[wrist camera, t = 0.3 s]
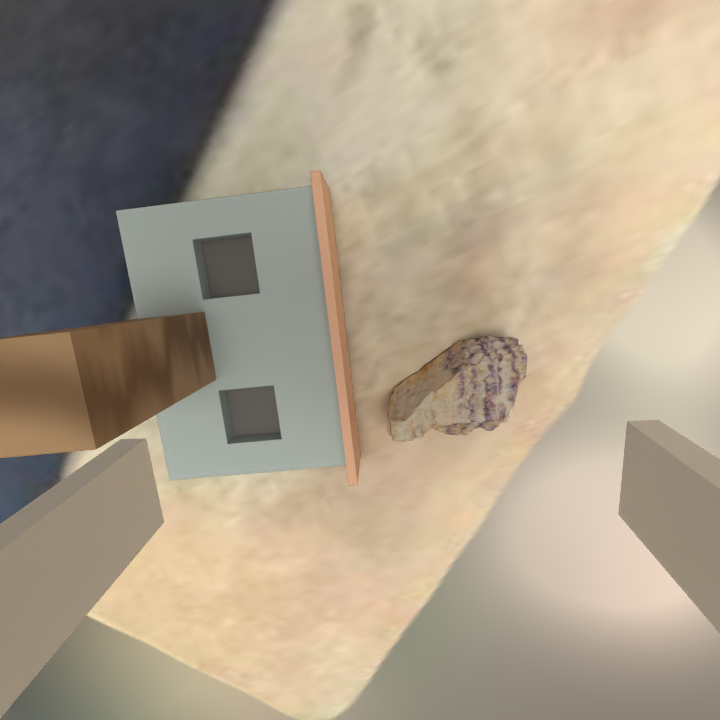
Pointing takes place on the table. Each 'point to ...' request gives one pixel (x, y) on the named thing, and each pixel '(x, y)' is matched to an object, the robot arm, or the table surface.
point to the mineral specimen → (459, 390)
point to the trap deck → (252, 329)
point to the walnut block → (97, 380)
